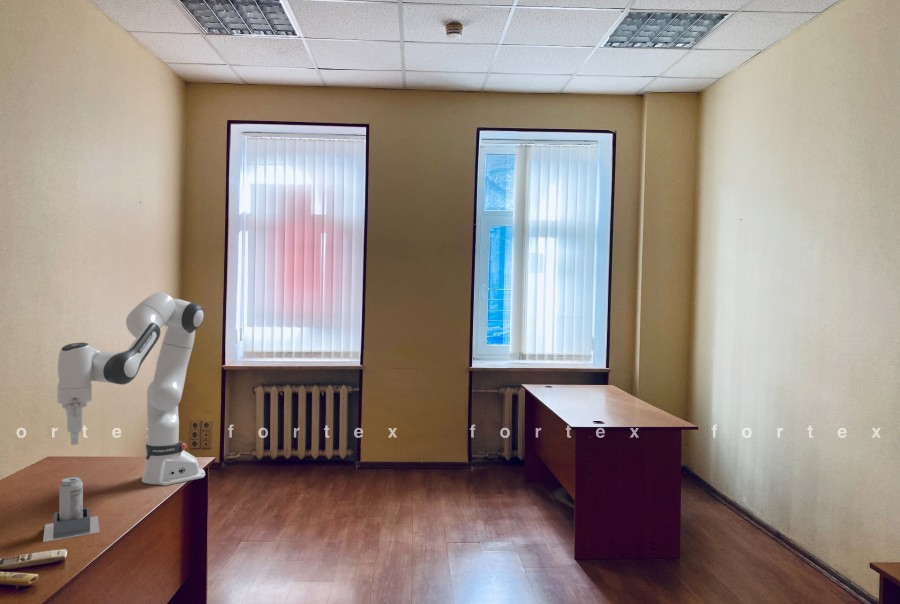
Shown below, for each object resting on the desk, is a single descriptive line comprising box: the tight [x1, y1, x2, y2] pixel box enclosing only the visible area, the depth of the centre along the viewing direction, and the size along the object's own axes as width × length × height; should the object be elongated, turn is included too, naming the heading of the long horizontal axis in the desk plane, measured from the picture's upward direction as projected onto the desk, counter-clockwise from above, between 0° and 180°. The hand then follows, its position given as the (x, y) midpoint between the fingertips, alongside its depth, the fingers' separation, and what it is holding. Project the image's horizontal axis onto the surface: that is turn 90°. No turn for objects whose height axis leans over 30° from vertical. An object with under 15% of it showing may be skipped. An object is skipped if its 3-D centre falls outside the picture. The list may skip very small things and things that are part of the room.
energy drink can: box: [58, 476, 84, 521], centre depth 175 cm, size 6×6×15 cm
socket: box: [42, 507, 100, 543], centre depth 175 cm, size 14×14×5 cm
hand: (74, 440), depth 175 cm, fingers open, 8 cm apart
